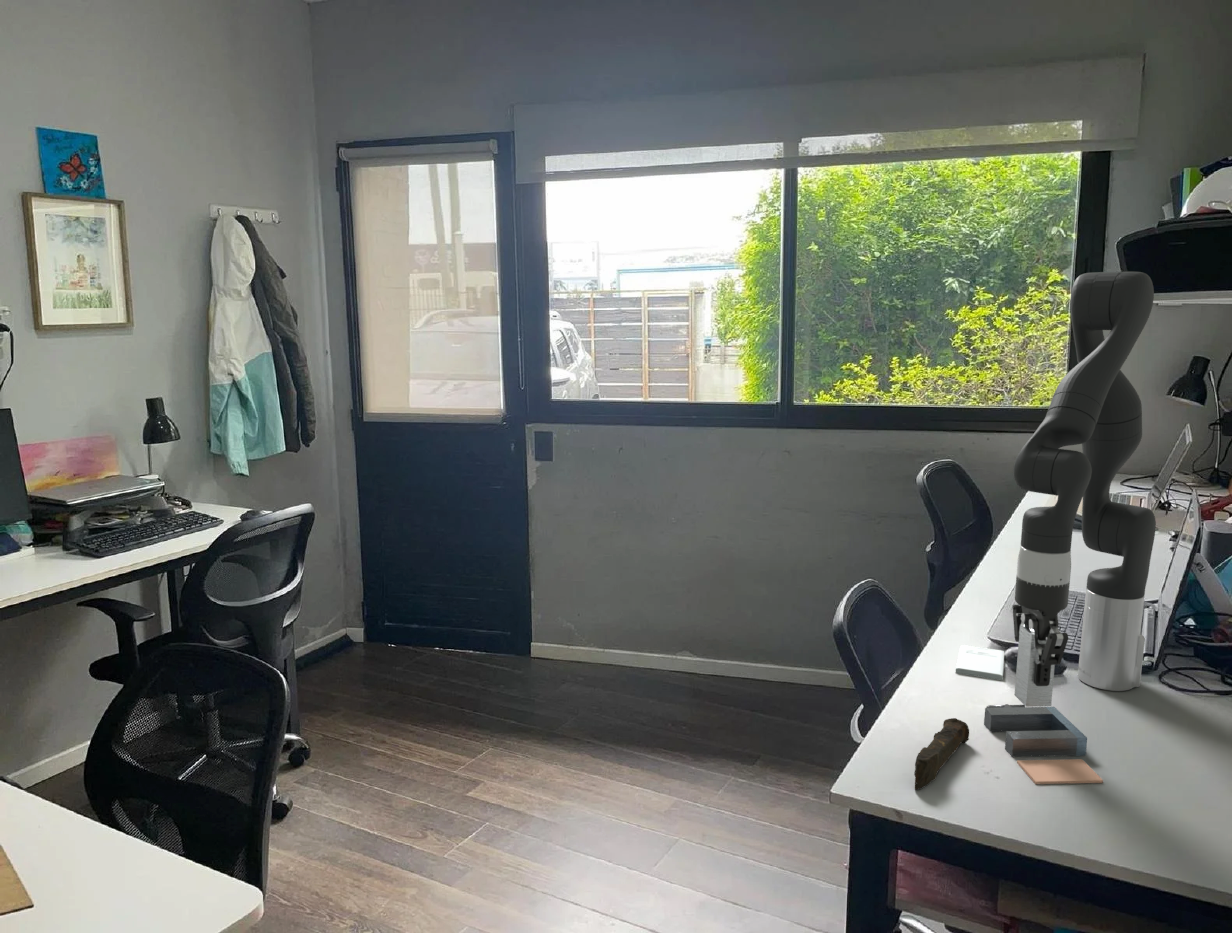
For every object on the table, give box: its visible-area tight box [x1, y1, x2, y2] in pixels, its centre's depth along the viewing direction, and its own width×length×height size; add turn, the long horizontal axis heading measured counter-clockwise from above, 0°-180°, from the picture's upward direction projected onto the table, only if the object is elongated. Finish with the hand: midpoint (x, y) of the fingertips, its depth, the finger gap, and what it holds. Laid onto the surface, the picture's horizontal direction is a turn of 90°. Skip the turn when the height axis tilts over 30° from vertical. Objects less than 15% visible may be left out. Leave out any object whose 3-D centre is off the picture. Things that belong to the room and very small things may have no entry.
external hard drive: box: [955, 644, 1005, 681], centre depth 176 cm, size 2×8×12 cm
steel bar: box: [1014, 625, 1056, 707], centre depth 145 cm, size 4×4×12 cm
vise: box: [983, 703, 1088, 758], centre depth 149 cm, size 12×14×3 cm
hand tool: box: [913, 717, 970, 791], centre depth 140 cm, size 19×4×5 cm, turn 141°
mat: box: [1016, 758, 1104, 785], centre depth 137 cm, size 10×6×1 cm, turn 91°
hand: (1034, 678), depth 145 cm, fingers closed on steel bar, 4 cm apart
